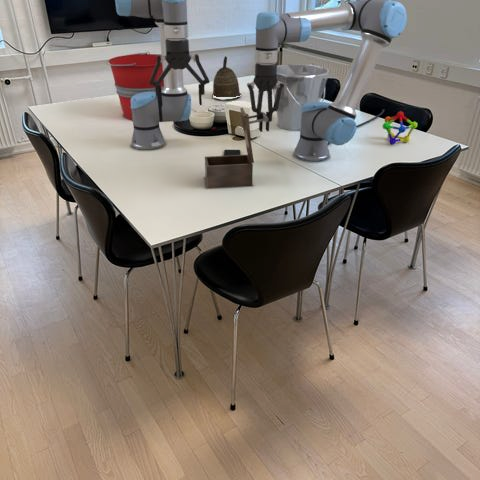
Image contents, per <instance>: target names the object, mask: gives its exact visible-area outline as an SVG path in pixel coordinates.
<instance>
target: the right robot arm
mask: <svg viewBox="0 0 480 480" xmlns="http://www.w3.org/2000/svg"><path fill="white" fill-rule="evenodd" d="M407 19H408V15H407V10H406V8H405V6H404V5H403V3H401V2H399V1H396V0H354V1H349V2H344V3H342V4H340V6H334V7H325V8H318V9H317V8H316V9H309V10H300V11H293V12H285V13H279V12H277V11H276V12H275V11H261V12H259V13H257V15H256V20H255V58H254V61H255V65H254V78H253V81H251V82H248V83H246V87H247V88H248V91H249V99H250V105H251V110H252V112H253V113H255V114H256V115H257V117H256V120H259V119H263V113H262V112H263V111H262V107H263V99H264V94H265V93H264V92H266V93H267V94H266V95H267V96H266V97H267V111H266V112H265V114H266V116H267V117H268V119H269V120H268V122H265V131H266V132H270V123H272V121H273V114H274V113H275V112H276V111H277V110H278V106H279V101H280V96H281V91H282V89H283V87H284V84H283V83H282V82H279V81H278V79H277V66H278V64H277V62H278V50H279V44H288V43H289V44H290V43H302V42H306V41H308V40H309V38H310V37H311V34H312V33H317V32H326V31H331V30H338V29H340V30H342V31H356V32H360V37H361V41H360V43H359V46H358V48H357V50H356V53H355V55H354V57H353V59H352V61H351V64H350V66H349V68H348V71H347V73H346V74H345V78H344V80H343V82H342V84H341V86H340V89H339V91H338V93H337V95H336V98H335V100H334V101H333V102H331V103H330V102H326V101H323V102H322V101H320V102H311V103H306V104H304V105H303V107H302V112H301V114H302V116H301V129H300V130H299V139H298V141H297V143H296V147H295V149H294V157H295V158H296V159H298V160H300V161H305V162H312V163H313V162H315V163H316V162H317V163H318V162H323V161H326V160H328V159H329V158H330V149H329V145H330V144H331V145H334V146H343V145H345V144H348V143H349V142H350V141H351V140H352V139H353V138H354V136H355V134H356V132H357V128H359V127H361V126H364V125H366V124H368V123H370V122H372V121H375V120H376V119H377V118H379V117H380V116H382V115H383V114H384V112H386V111H385V109H383V108H382V110H381V112H380V113H379V114H377V115H375V116H374V117H372V118H370V119H368V120H366V121H364V122H362V123H359V124H357V123H356V118H357V112H356V109H357V106H358V105H359V102H360V100H361V99H362V95H363V94H364V91H365V89H366V87H367V85H368V82H369V80H370V78H371V76H372V74H373V72H374V70H375V67H376V65H377V63H378V61H379V59H380V57H381V55H382V52H383V50H384V49H385V48H386V47H389V46H390V45H391V43H392V40H393V39H395V38H397V37H399V36H400V35H401V34H402V33H403V32H404V30H405V27H406V25H407ZM276 84H277V90H276V95H275V100H274V101H273V88H274V86H275V85H276ZM255 86H256V88H257V89H258V93H257V102H256V97H255V92H254V89H255ZM263 124H264V121H261V122H258V130H259V132H260V133H263V127H264V125H263Z"/></svg>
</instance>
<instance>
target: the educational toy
mask: <svg viewBox="0 0 480 480" xmlns="http://www.w3.org/2000/svg"><path fill="white" fill-rule="evenodd" d="M397 119H399V124H400V125H399V127H398V126H393V125H391V124H392V123H394V122H395V121H396V120H397ZM403 120H404V121H405V122H407V123H408V124H409V125H407V126H404V123H403ZM417 127H418V122H417V121H411V120H410V119H409V118H408V117H406V116H405V113H404V112H403V111H401V110H400V111H398V112H397V114H396V115H394V116H391V117H390V116H386V117H385V118H384V122H383V123H382V129H383V130H386V132H387V138H388V142H389V145H395V144H396V143H397V142H402V141H403V142H404V143H409V142H410V140H411V138H410V136H411V134H412V132H413V131H414V130H415V129H417ZM392 129H393V130H397V131H398V132H396V134H395V133H394V132H392ZM408 129H409V131H408V133H407V134H406V135H404V136H401V134H403V133H405V132H406V130H408ZM399 135H400V136H399Z"/></svg>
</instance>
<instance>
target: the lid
mask: <svg viewBox="0 0 480 480" xmlns="http://www.w3.org/2000/svg"><path fill="white" fill-rule="evenodd" d="M261 112H262V113H263V119H259V120H257V119H255V118H257V114H254V115H248V116H247V113H246V111H245V109H244V108H243V107H240V115H241V116H240V117H241V122H242V129H243V135H244V140H245V141H244V142H245V145H246V146H245V148H246V153H247V154H246V155H248V156H249V158H250V161H251V163H252V164H253V163H255V159H254V154H253V153H254V152H253V147H252V139H251V133H250V127H249V125H252V124H255V123H259V122H261V121H263V122H264V123H266V122H268V120H269V119H268V117H267V116H266V112H265V111H261ZM250 119H253V120H250ZM254 119H255V120H254ZM249 120H250V121H249Z"/></svg>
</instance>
